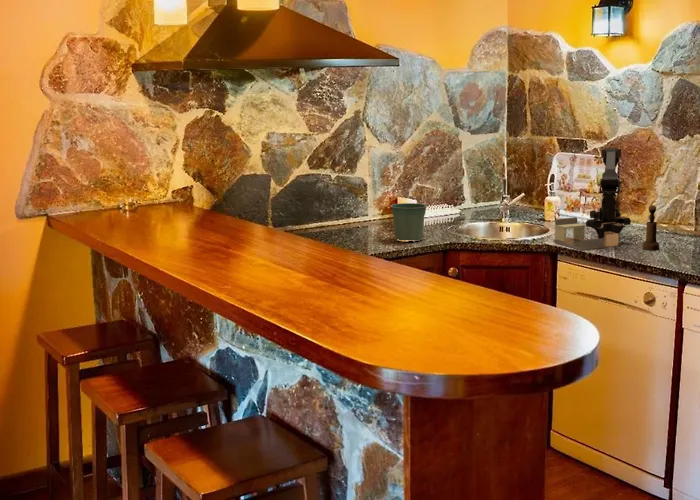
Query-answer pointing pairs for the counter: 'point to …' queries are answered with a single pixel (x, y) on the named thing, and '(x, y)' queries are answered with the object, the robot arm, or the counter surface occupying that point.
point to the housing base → (582, 243)
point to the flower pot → (408, 220)
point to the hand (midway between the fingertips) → (607, 242)
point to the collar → (610, 239)
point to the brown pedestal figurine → (651, 232)
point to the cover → (567, 224)
